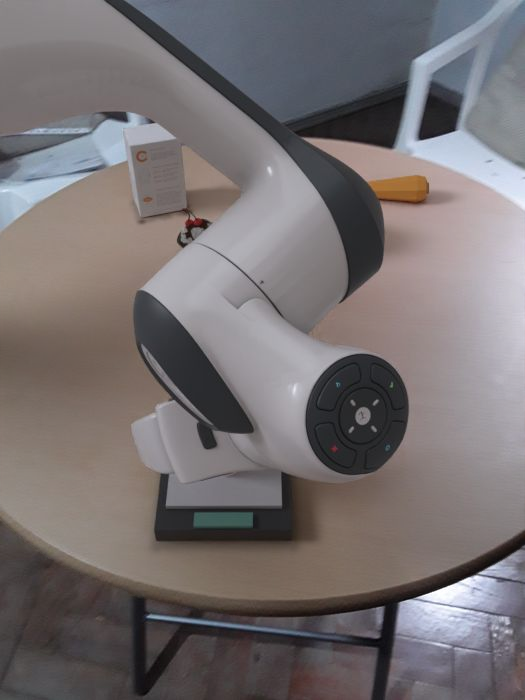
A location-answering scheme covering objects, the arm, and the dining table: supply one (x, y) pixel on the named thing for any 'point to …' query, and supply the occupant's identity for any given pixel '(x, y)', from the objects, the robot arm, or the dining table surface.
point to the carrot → (401, 188)
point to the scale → (225, 507)
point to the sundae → (192, 229)
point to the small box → (155, 169)
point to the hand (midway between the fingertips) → (227, 404)
